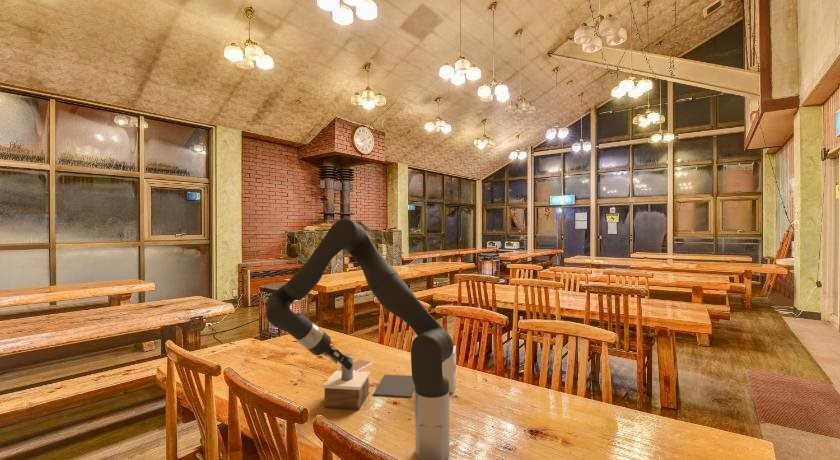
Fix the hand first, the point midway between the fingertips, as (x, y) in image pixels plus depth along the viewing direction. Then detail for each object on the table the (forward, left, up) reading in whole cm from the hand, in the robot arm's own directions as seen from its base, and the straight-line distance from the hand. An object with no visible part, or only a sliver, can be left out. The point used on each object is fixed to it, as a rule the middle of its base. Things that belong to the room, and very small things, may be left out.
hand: (344, 364), depth 133 cm
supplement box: (+16, -34, -14) cm, 40 cm away
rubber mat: (+15, -16, -13) cm, 26 cm away
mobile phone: (+32, +6, -14) cm, 35 cm away
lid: (+1, -1, -8) cm, 8 cm away
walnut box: (+1, -1, -13) cm, 13 cm away
